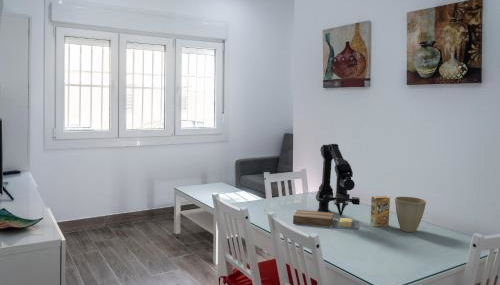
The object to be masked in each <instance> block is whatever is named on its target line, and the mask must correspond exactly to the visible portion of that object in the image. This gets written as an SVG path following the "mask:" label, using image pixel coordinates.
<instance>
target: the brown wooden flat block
mask: <svg viewBox="0 0 500 285" xmlns="http://www.w3.org/2000/svg"><path fill="white" fill-rule="evenodd" d="M292 216H293V217H292V224H297V225H308V226H315V227H316V226H319V227H328V228H332V227H333V223H334V218H335V216H334V212H330V211H329V212H321V211H318V210H316V211H314V210H305V209H296V211H295V212H294V214H293V215H292Z"/></svg>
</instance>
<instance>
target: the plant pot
mask: <svg viewBox="0 0 500 285" xmlns="http://www.w3.org/2000/svg"><path fill="white" fill-rule="evenodd" d="M394 203H395V212H396V218H397V222H398V226H399V228H400V230H401V231H402V232H406V233H416V232H417V231H418V228H419V226H420V224H421V221H422V219H423V216H424V212H425V209H426V205H427V200H425V199H422V198H419V197H414V196H413V197H412V196H396V197H395V198H394Z"/></svg>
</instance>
